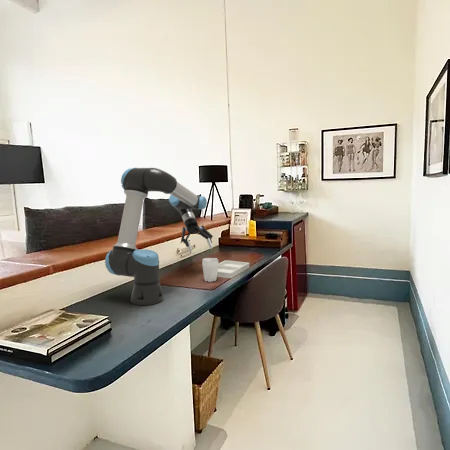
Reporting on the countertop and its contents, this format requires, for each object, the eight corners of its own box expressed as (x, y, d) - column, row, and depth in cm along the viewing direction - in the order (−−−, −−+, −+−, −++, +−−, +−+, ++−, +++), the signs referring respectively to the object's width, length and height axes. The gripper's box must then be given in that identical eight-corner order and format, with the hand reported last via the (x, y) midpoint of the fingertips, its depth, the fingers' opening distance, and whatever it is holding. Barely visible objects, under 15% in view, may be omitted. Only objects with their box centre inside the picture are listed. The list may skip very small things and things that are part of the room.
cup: (216, 283, 194) (216, 261, 193) (200, 282, 196) (200, 260, 195) (220, 278, 203) (219, 257, 202) (204, 277, 205) (204, 257, 203)
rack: (230, 278, 203) (230, 273, 203) (204, 275, 210) (204, 270, 210) (249, 267, 228) (249, 262, 227) (225, 264, 235) (225, 260, 235)
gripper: (206, 223, 227) (217, 250, 216) (169, 226, 214) (180, 255, 203) (209, 215, 221) (222, 243, 211) (172, 218, 209) (183, 248, 198)
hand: (201, 249), depth 207 cm, fingers open, 13 cm apart
